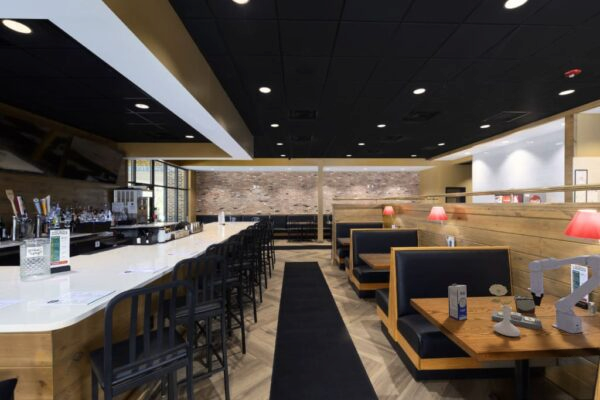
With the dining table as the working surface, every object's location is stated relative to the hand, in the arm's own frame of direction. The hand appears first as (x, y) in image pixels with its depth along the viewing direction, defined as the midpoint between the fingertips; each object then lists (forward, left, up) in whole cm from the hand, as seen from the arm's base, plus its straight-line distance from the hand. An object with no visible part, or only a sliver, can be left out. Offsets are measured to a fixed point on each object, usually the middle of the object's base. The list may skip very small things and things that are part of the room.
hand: (537, 305), depth 157 cm
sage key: (+7, +16, -8) cm, 20 cm away
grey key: (+2, +12, -7) cm, 14 cm away
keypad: (+2, +12, -9) cm, 15 cm away
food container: (+12, -5, -9) cm, 16 cm away
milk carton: (+14, +40, -9) cm, 44 cm away
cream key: (-2, +9, -8) cm, 12 cm away
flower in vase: (-8, +31, -9) cm, 34 cm away
